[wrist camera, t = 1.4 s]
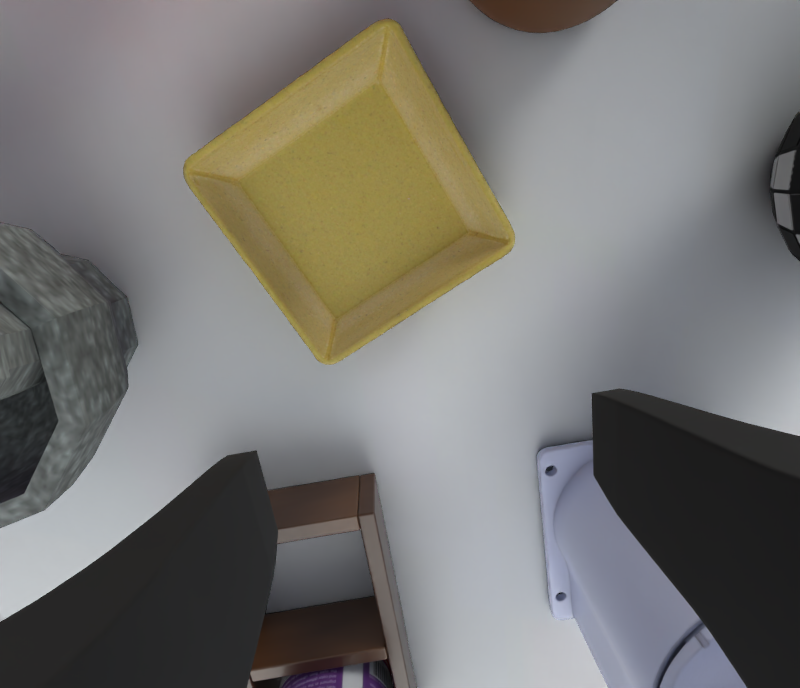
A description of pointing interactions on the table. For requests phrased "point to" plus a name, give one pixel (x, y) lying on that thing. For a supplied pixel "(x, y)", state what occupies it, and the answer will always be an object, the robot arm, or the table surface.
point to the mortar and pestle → (54, 368)
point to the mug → (541, 13)
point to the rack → (343, 621)
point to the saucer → (352, 195)
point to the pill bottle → (344, 677)
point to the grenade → (788, 187)
